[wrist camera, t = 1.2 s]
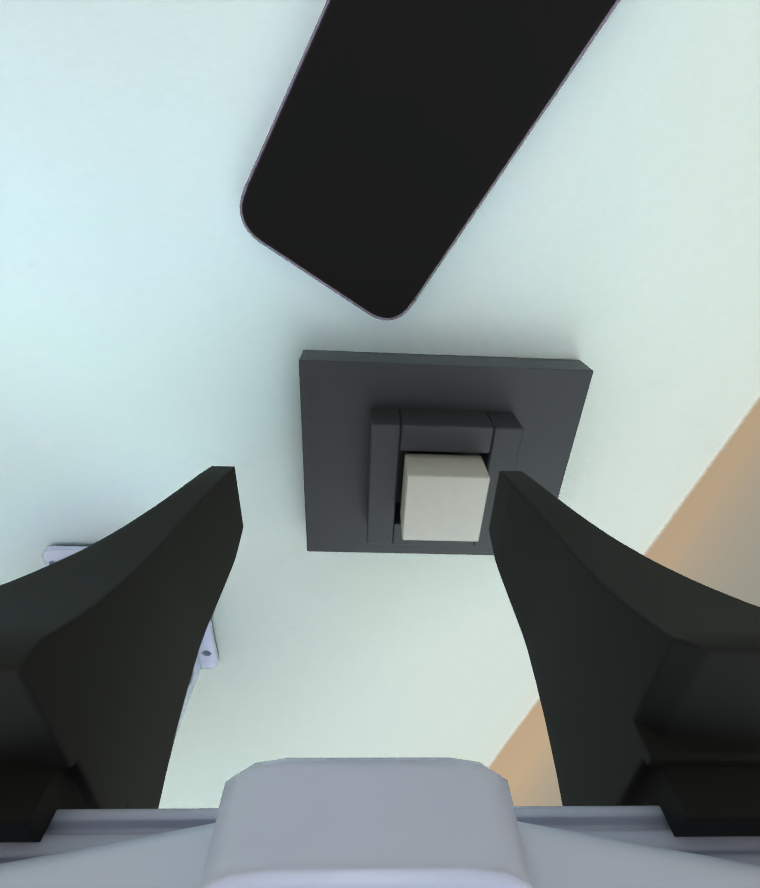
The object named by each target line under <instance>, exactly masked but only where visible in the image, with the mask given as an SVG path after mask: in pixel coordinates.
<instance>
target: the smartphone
mask: <svg viewBox="0 0 760 888" xmlns="http://www.w3.org/2000/svg"><path fill="white" fill-rule="evenodd" d="M619 1H620V0H327V2H326V4H325V7H324V9H323V11H322V13H321V16H320V18H319V20H318V22H317V25H316V27H315V29H314V32H313V34H312V36H311V38H310V41H309V43H308V45H307V47H306V50H305V52H304V54H303V56H302V59H301V61H300V63H299V65H298V68H297V70H296V72H295V74H294V77H293V79H292V81H291V83H290V86H289V88H288V90H287V93H286V95H285V97H284V99H283V102H282V104H281V106H280V108H279V111H278V113H277V115H276V117H275V120H274V122H273V124H272V126H271V129H270V131H269V133H268V135H267V138H266V140H265V142H264V144H263V147H262V149H261V151H260V154H259V156H258V158H257V160H256V163H255V165H254V167H253V169H252V172H251V174H250V176H249V178H248V181H247V183H246V185H245V188H244V190H243V193H242V196H241V201H240V215H241V218H242V222H243V224H244V226H245V227H246V229H247V231H248V232H249V233H250V234H251V235H252V236H253V237H254V238H255V239H256V240H258V241H259V242H260V243H262V244H263V245H265V246H266V247H268V248H269V249H271V250H272V251H274V252H275V253H277V254H278V255H280V256H281V257H283V258H284V259H286V260H288V261H289V262H291V263H292V264H294V265H295V266H297V267H298V268H300V269H301V270H303V271H304V272H306V273H307V274H309V275H310V276H312V277H313V278H315V279H316V280H318V281H319V282H321V283H322V284H324V285H325V286H327V287H328V288H330V289H331V290H333V291H334V292H336V293H337V294H339V295H340V296H342V297H343V298H345V299H347V300H348V301H350V302H351V303H353V304H354V305H356V306H357V307H359V308H360V309H362V310H363V311H365V312H366V313H368V314H369V315H371V316H373V317H375V318H378V319H381V320H393V319H396V318H398V317H400V316H402V315H403V314H405V313H406V312H407V311H408V310H409V308H410V307H411V306H412V305H413V303H414V302H415V300H416V299H417V297H418V296H419V294H420V293H421V292H422V290H423V289H424V287H425V286H426V284H427V283H428V281H429V280H430V278H431V277H432V275H433V274H434V272H435V271H436V270H437V268H438V267H439V265H440V264H441V262H442V261H443V259H444V258H445V256H446V255H447V253H448V252H449V250H450V249H451V248H452V246H453V245H454V243H455V242H456V240H457V239H458V237H459V236H460V234H461V233H462V231H463V230H464V228H465V227H466V226H467V224H468V223H469V221H470V220H471V218H472V217H473V215H474V214H475V212H476V211H477V209H478V208H479V206H480V205H481V204H482V202H483V201H484V199H485V198H486V196H487V195H488V193H489V192H490V190H491V189H492V187H493V186H494V184H495V183H496V182H497V180H498V179H499V177H500V176H501V174H502V173H503V171H504V170H505V168H506V167H507V165H508V164H509V162H510V161H511V160H512V158H513V157H514V155H515V154H516V152H517V151H518V149H519V148H520V146H521V145H522V143H523V142H524V140H525V139H526V138H527V136H528V135H529V133H530V132H531V130H532V129H533V127H534V126H535V124H536V123H537V121H538V120H539V118H540V117H541V116H542V114H543V113H544V111H545V110H546V108H547V107H548V105H549V104H550V102H551V101H552V99H553V98H554V97H555V95H556V94H557V93H558V91H559V90H560V88H561V87H562V85H563V84H564V82H565V81H566V79H567V78H568V76H569V75H570V73H571V72H572V71H573V69H574V68H575V66H576V65H577V63H578V62H579V60H580V59H581V57H582V56H583V54H584V53H585V51H586V50H587V49H588V47H589V45H590V44H591V42H592V41H593V39H594V38H595V36H596V35H597V33H598V32H599V31H600V29H601V28H602V26H603V25H604V23H605V22H606V20H607V19H608V17H609V16H610V14H611V13H612V11H613V10H614V9H615V7H616V6H617V4H618V3H619Z"/></svg>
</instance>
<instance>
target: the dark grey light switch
mask: <svg viewBox="0 0 760 888" xmlns="http://www.w3.org/2000/svg"><path fill="white" fill-rule="evenodd" d="M592 374H593V370H592V369H590V368H589V367H588V366H586V365H585V364H584V363H583V362H581V361H580V360H561V359H533V358H506V357H479V356H452V355H424V354H397V353H370V352H343V351H316V350H303V353H302V355H301V357H300V359H299V376H300V399H301V421H302V444H303V467H304V490H305V513H306V535H307V551H324V552H372V553H420V554H468V555H494V552H493V548H492V544H491V539H490V534H489V525H490V520H491V514H492V509H493V503H494V498H495V492H496V487H497V481H498V476H499V471H522V472H524V473H525V474H527V475H528V476H529V477H531V478H532V479H533V480H535V481H536V482H537V483H539V484H540V485H541V486H542V487H544V488H545V489H546V490H547V491H549V492H550V493H551V494H553V495H554V496H555V497H556V498H558V495H559V492H560V488H561V485H562V481H563V477H564V474H565V470H566V467H567V463H568V460H569V456H570V452H571V449H572V445H573V442H574V438H575V435H576V431H577V427H578V424H579V420H580V417H581V413H582V410H583V406H584V402H585V399H586V395H587V392H588V388H589V385H590V381H591V378H592ZM406 453H410V454H444V455H479V456H481V457H482V460H483V462H484V464H485V467H486V469H487V472H488V474H489V476H490V482H489V487H488V492H487V498H486V503H485V508H484V514H483V519H482V524H481V530H480V535H479V540H478V541H432V540H403V539H402V531H401V520H400V508H401V495H402V483H403V470H404V458H405V454H406Z"/></svg>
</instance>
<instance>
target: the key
mask: <svg viewBox="0 0 760 888" xmlns="http://www.w3.org/2000/svg"><path fill="white" fill-rule="evenodd" d="M489 482H490V476H489V474H488V472H487V469H486V467H485V464H484V462H483V460H482V457H481V456H479V455H444V454H410V453H406V454H405V458H404V470H403V483H402V495H401V508H400V520H401V531H402V539H403V540H432V541H478V540H479V535H480V530H481V524H482V519H483V514H484V508H485V503H486V498H487V492H488V487H489Z"/></svg>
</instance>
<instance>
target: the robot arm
mask: <svg viewBox="0 0 760 888" xmlns="http://www.w3.org/2000/svg"><path fill="white" fill-rule="evenodd" d="M242 530H243V521H242V515H241V508H240V501H239V494H238V487H237V480H236V473H235V467H230V466H211V467H210V468H208V469H207V470H205V471H204V472H202V473H201V474H199V475H198V476H197V477H195V478H194V479H192V480H191V481H190V482H188V483H187V484H186V485H184V486H183V487H182V488H180V489H179V490H177V491H176V492H175V493H173V494H172V495H170V496H169V497H168V498H166V499H165V500H163V501H162V502H161V503H159V504H158V505H156V506H155V507H153V508H152V509H150V510H149V511H147V512H146V513H144V514H143V515H141V516H140V517H138V518H136V519H135V520H133V521H132V522H130V523H129V524H127V525H126V526H124V527H122V528H121V529H119V530H117V531H116V532H114V533H112V534H110V535H109V536H107V537H105V538H103V539H101V540H100V541H98V542H96V543H94V544H92V545H90V546H49V547H47V548H46V549H45V550H44V551H43V553H42V557H43V560H44V562H45V565H46V567H44V568H42V569H40V570H38V571H35V572H33V573H31V574H28V575H26V576H23V577H21V578H18V579H16V580H13V581H11V582H8V583H6V584H3V585H0V888H760V607H758V606H755V605H752V604H749V603H747V602H744V601H742V600H739V599H737V598H734V597H731V596H729V595H727V594H724V593H722V592H719V591H717V590H714V589H712V588H709V587H707V586H705V585H702V584H700V583H698V582H696V581H693V580H691V579H689V578H687V577H685V576H683V575H681V574H679V573H676V572H674V571H673V570H670V569H668V568H666V567H664V566H662V565H660V564H658V563H656V562H654V561H652V560H651V559H649V558H647V557H645V556H643V555H642V554H640V553H638V552H636V551H635V550H633V549H631V548H629V547H628V546H626V545H624V544H622V543H621V542H619V541H617V540H616V539H614V538H613V537H611V536H609V535H608V534H606V533H605V532H603V531H602V530H600V529H599V528H598V527H596V526H595V525H593V524H592V523H590V522H589V521H587V520H586V519H584V518H583V517H582V516H580V515H579V514H577V513H576V512H575V511H573V510H572V509H571V508H569V507H568V506H567V505H565V504H564V503H563V502H562V501H560V500H559V499H558V498H556V497H555V496H554V495H553V494H551V493H550V492H549V491H547V490H546V489H545V488H544V487H542V486H541V485H540V484H539V483H537V482H536V481H535V480H533V479H532V478H531V477H529V476H528V475H527V474H525V473H524V472H522V471H499V476H498V481H497V487H496V492H495V498H494V503H493V509H492V514H491V520H490V525H489V534H490V539H491V544H492V548H493V552H494V557H495V561H496V564H497V567H498V570H499V572H500V575H501V578H502V581H503V583H504V586H505V589H506V591H507V594H508V597H509V599H510V602H511V605H512V607H513V610H514V612H515V615H516V618H517V620H518V623H519V626H520V628H521V631H522V634H523V637H524V640H525V643H526V646H527V649H528V653H529V657H530V661H531V665H532V668H533V672H534V676H535V680H536V684H537V688H538V692H539V696H540V701H541V705H542V709H543V713H544V717H545V722H546V726H547V731H548V735H549V740H550V745H551V749H552V754H553V759H554V763H555V768H556V773H557V778H558V783H559V788H560V793H561V799H562V805H563V806H536V807H535V806H534V807H533V806H528V807H527V806H524V807H523V806H522V807H514V806H513V801H512V797H511V793H510V788H509V784H508V781H507V780H506V779H505V778H503V777H502V776H500V775H499V774H497V773H496V772H494V771H493V770H491V769H489V768H488V767H486V766H485V765H483V764H481V763H480V762H475V761H468V760H461V759H454V758H285V759H278V760H272V761H265V762H259V763H255V764H253V765H251V766H250V767H248V768H246V769H245V770H243V771H241V772H240V773H238V774H237V775H235V776H233V777H232V778H231V779H229V780H228V781H226V783H225V787H224V790H223V794H222V798H221V802H220V806H219V808H199V809H158V807H159V802H160V798H161V794H162V789H163V785H164V780H165V776H166V771H167V767H168V763H169V759H170V755H171V751H172V747H173V743H174V740H175V737H176V734H177V731H178V728H179V726H180V723H181V720H182V717H183V715H184V712H185V709H186V706H187V704H188V701H189V698H190V695H191V693H192V690H193V687H194V684H195V681H196V679H197V676H198V673H199V670H200V668H214V667H216V666H217V663H218V654H217V649H216V643H215V638H214V633H213V628H212V623H211V617H212V615H213V612H214V610H215V607H216V605H217V603H218V600H219V598H220V595H221V593H222V591H223V588H224V586H225V583H226V581H227V578H228V576H229V573H230V571H231V568H232V566H233V563H234V561H235V558H236V554H237V550H238V547H239V543H240V539H241V534H242Z"/></svg>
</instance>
